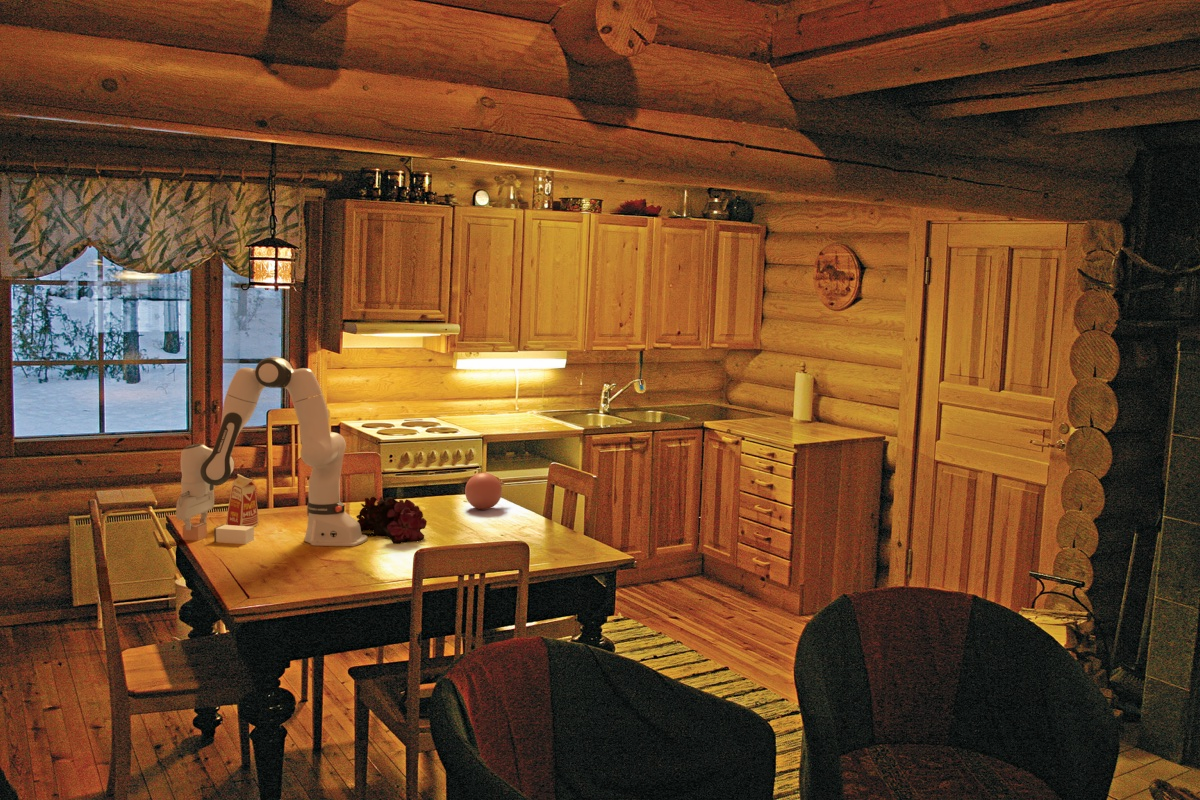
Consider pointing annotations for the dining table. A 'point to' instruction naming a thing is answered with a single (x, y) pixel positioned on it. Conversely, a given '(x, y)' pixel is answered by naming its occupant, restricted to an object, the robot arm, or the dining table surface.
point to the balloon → (483, 491)
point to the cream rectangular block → (233, 534)
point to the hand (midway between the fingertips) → (196, 526)
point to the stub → (195, 532)
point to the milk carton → (242, 503)
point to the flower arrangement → (392, 519)
